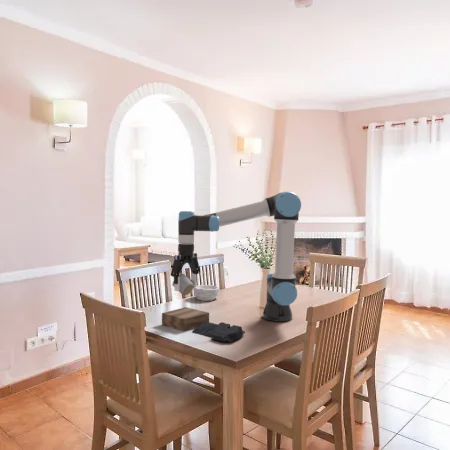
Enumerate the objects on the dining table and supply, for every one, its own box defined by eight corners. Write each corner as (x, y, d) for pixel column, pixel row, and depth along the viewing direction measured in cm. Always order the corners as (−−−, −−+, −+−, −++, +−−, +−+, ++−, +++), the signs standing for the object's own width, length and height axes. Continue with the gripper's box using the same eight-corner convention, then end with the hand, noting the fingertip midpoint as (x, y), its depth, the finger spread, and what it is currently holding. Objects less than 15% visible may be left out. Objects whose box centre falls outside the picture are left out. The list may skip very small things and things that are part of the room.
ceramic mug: (182, 299, 198) (185, 288, 193) (171, 288, 202) (173, 277, 197) (198, 288, 205) (201, 278, 200) (186, 278, 209) (189, 267, 204)
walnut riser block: (209, 324, 203) (209, 312, 203) (185, 332, 191) (185, 319, 191) (185, 318, 214) (186, 307, 213) (161, 325, 201) (161, 313, 201)
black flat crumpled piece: (210, 325, 202) (210, 316, 202) (248, 334, 189) (248, 324, 189) (189, 333, 190) (189, 323, 190) (228, 343, 177) (228, 332, 177)
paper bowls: (223, 300, 254) (224, 287, 254) (204, 304, 244) (204, 290, 244) (207, 296, 266) (207, 283, 265) (188, 299, 256) (188, 286, 255)
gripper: (196, 241, 212) (195, 284, 213) (162, 244, 193) (162, 291, 194) (207, 242, 208) (207, 286, 209) (174, 245, 189) (174, 293, 190)
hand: (185, 288), depth 202 cm, fingers closed on ceramic mug, 11 cm apart
